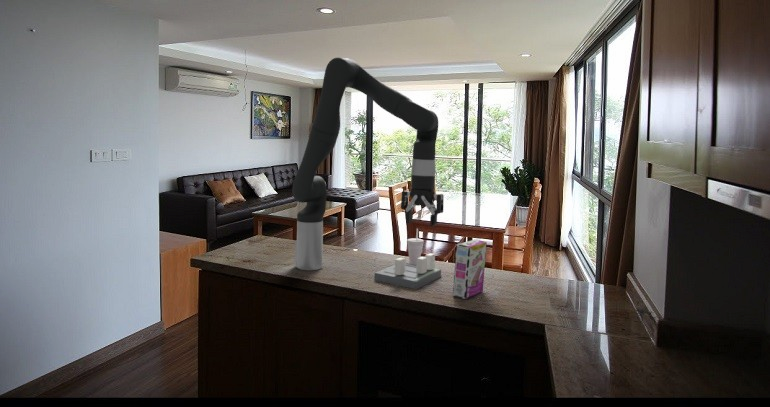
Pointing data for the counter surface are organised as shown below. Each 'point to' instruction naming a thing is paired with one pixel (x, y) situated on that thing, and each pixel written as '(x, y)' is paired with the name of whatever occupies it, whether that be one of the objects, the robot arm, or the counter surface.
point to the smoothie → (414, 248)
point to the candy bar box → (469, 268)
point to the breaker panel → (411, 273)
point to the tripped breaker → (399, 266)
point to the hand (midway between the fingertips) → (421, 224)
